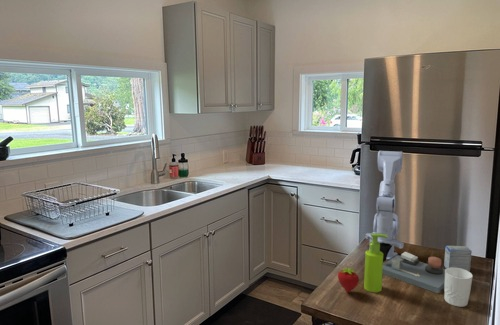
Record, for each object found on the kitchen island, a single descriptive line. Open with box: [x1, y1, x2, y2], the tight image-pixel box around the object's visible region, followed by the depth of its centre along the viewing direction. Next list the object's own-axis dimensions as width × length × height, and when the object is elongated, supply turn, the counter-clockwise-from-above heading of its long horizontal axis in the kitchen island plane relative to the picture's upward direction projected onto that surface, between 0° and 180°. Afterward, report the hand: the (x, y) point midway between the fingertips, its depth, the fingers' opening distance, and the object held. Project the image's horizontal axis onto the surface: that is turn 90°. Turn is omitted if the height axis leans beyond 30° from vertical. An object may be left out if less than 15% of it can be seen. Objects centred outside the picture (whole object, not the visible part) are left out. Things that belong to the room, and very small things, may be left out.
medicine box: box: [443, 245, 472, 272], centre depth 146 cm, size 8×4×9 cm, turn 84°
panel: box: [382, 254, 446, 294], centre depth 142 cm, size 22×16×3 cm
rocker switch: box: [400, 251, 419, 263], centre depth 148 cm, size 5×4×1 cm
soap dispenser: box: [363, 232, 388, 293], centre depth 131 cm, size 6×7×20 cm
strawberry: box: [337, 267, 360, 293], centre depth 130 cm, size 6×8×10 cm
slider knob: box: [391, 256, 403, 270], centre depth 143 cm, size 3×3×4 cm
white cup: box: [443, 268, 474, 308], centre depth 123 cm, size 8×8×10 cm
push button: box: [427, 256, 442, 268], centre depth 140 cm, size 4×4×2 cm
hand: (382, 260), depth 147 cm, fingers closed
